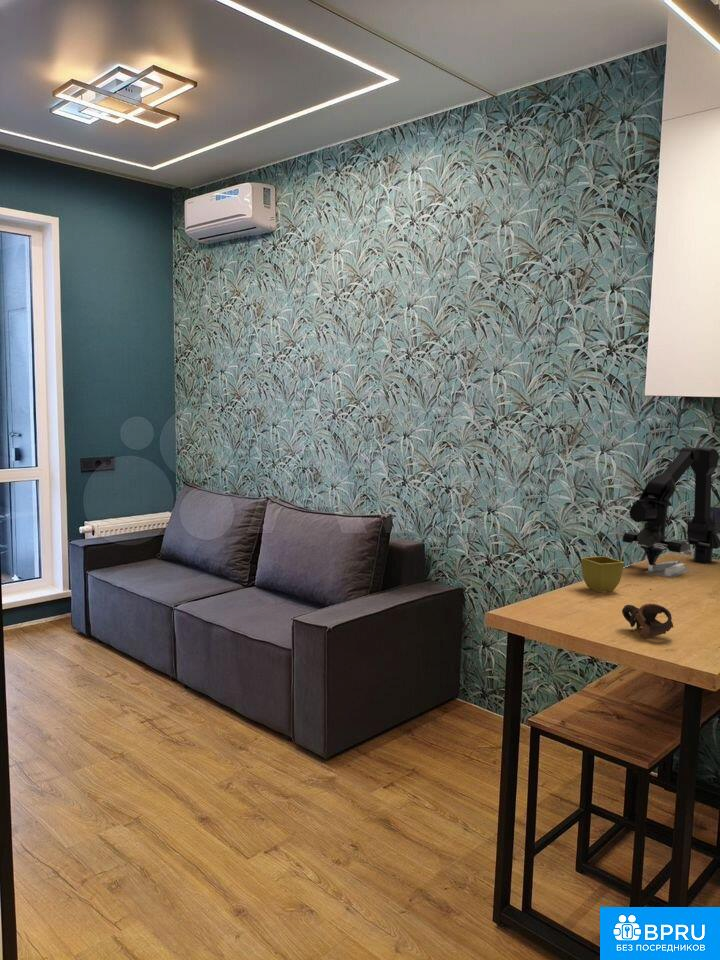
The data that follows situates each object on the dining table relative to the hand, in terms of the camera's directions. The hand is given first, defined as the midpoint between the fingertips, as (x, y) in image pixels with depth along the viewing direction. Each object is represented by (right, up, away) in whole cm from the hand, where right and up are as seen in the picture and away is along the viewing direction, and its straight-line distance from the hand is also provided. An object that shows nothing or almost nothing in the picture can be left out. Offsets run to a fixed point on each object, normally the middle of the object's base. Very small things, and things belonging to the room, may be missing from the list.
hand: (651, 568), depth 239 cm
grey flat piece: (+5, -2, 0) cm, 5 cm away
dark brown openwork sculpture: (-25, -9, -60) cm, 66 cm away
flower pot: (-24, -4, -23) cm, 33 cm away
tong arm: (+4, 0, 0) cm, 4 cm away
